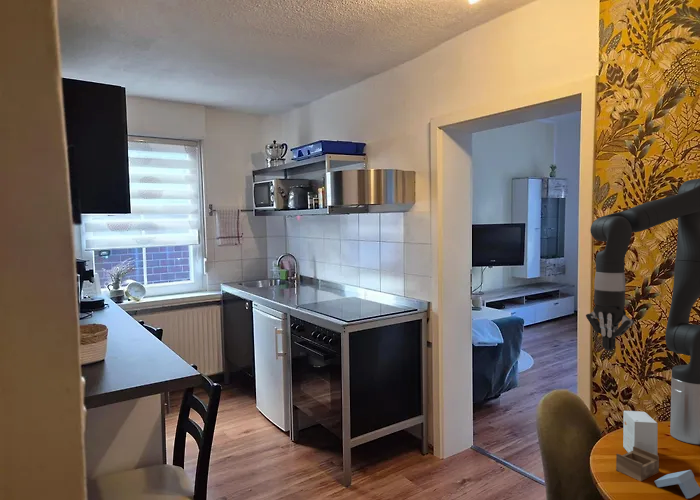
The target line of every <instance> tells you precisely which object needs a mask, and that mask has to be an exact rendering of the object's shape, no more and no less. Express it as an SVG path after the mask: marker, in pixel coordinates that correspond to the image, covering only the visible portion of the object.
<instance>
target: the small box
mask: <svg viewBox="0 0 700 500" xmlns="http://www.w3.org/2000/svg"><path fill="white" fill-rule="evenodd" d="M622 420H623V429H622V430H623V433H622V435H623V438H622V439H623V444H622V445H623V449H625V450H626V453H629V452H631V451H633V447H634V446H635V447H637V448H640V449H642V450H645V451H647V452H650V453H653V454H655V455H658V433H659V432H658V430H659V429H658V427H659V426H658V425H659V424H658V421H656V420H655V419H653V417H651V416H650V415H649V414H648V413H647V412H645V411H637V410H623V419H622Z"/></svg>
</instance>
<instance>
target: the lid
mask: <svg viewBox="0 0 700 500" xmlns="http://www.w3.org/2000/svg"><path fill="white" fill-rule="evenodd" d="M654 483H655V485H656V487H657V488H663V487H668V486H674V485H678V486H679V488H680V490H681V492H682V494H683V495H684V497H685V499H687V500H688V499H692V498H694V497H696V496H697V495H699V494H700V486H699V484H698V482H697V481H696V479H695V475H694V472H693V471H692V469H688V470H682V471H677V472H672V473H667V474H665V475H663V476H661V477H659V478H658V479H656V480H654Z"/></svg>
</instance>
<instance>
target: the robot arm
mask: <svg viewBox="0 0 700 500" xmlns="http://www.w3.org/2000/svg"><path fill="white" fill-rule="evenodd" d="M675 219H677V238H676V239H677V240H676V252H675V259H674V260H675V261H674V270H673V272H674V273H673V287H672V296H671V304H670V308H669V314H668V318H667V323H666V328H665V337H664V338H665V345H666V347H667V349H668V350H669V351H670V352H672V353H676V354H680V355H684V356H689V357H690V359H689V363H688V364H679V365H675V366H672V368H671V381H670V384H671V386H670V387H671V389H670V393H671V394H670V429H669V430H670V431H669V432H670V433H669V434H670V436H671V437H672V438H674V439H676V440H678V441H680V442H683V443H687V444H692V445H700V325H699V324H694V323H690V317H691V313H692V309H693V306H694V305H695V303H696V302H697V300H699V298H700V178H695V179H688V180H686V181H684V182H683V183H681V185H680V186H679V188H678V192H677V194H674V195H671V196H666V197H662V198H658V199H654V200H649V201H647V202H643V203H640V204H639V205H635V206H633V207H631V208H629V209H626V210H622V211H617V212H613V213H609V214H606V215H603V216H601V217H597V218H596V219H595V220H594V221H593V222H592V224H591V225H590V231H589V232H590V235H591V236H592V238H593V239H595V240H596V241H599V242H603V243H604V242H606V244H605V248H604V249H603V250H601V251H598V252H597V253H596V257H595V275H594V286H593V287H594V291H593V292H594V293H593V294H594V296H593V297H594V298H593V299H594V300H593V301H594V308H593V311H591V312H590V313H587V314H585V318H586V319H587V321H588V322H589V323H590V325H591V327H592V328H593V330H594V331H595V333H596V334H600V335H601V336H602V347H603V349H604V350H605V351H609V352H610V351H611V352H612V351H614V349H616V338H617V337H621V336H623V335H624V334H626V332H627V331H628V330H629V329H630V328H631V327H632V326H633V325H634V324H635V320H634V319H630V318H629V317H628V316H627V312H626V310H625V306H626V275H625V271H626V270H625V269H626V267H625V265H626V264H625V262H626V261H625V258H626V255H627V252H628V249H629V245H630V242H631V240H632V239H631V238H632V234H633V233H641V232H643V231H646V230H648V229H651V228H653V227H656V226H659V225H661V224H663V223H667V222H669V221H672V220H675ZM620 323H621V325H620ZM619 325H620V326H619Z"/></svg>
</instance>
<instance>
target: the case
mask: <svg viewBox="0 0 700 500" xmlns="http://www.w3.org/2000/svg"><path fill="white" fill-rule="evenodd" d="M659 460H660V456H659V455H658V454H657V455H655V454H653V453H650V452H647V451H645V450H642V449H640V448H637V447H635V446H634V447H633V451H631V452H629V453H628V452H626V453H625V454H619V453H616V461H615V462H616V463H615V465H616V466H615V467H616V468H615V470H616V472H619V473H621V474H623V475H625V476H628V477H631V478H633V479H635V480H637V481H639V482H642V481H644V480H647V479H648V478H651V477H652V476H654V475H656V474H658V473H659V471H660V470H659V469H660V463H659V462H660V461H659Z"/></svg>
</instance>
